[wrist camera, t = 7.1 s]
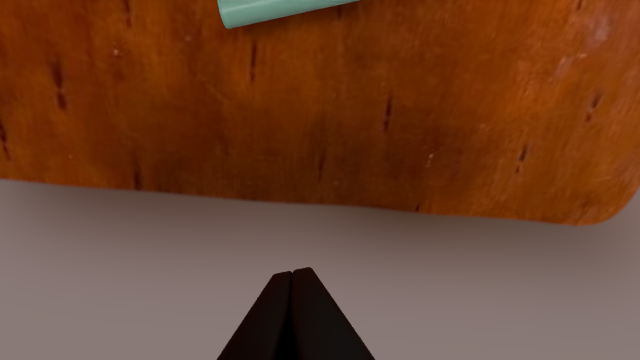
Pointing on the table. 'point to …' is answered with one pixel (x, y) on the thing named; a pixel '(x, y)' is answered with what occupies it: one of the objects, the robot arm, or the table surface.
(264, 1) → the lever
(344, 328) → the robot arm
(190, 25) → the table surface
